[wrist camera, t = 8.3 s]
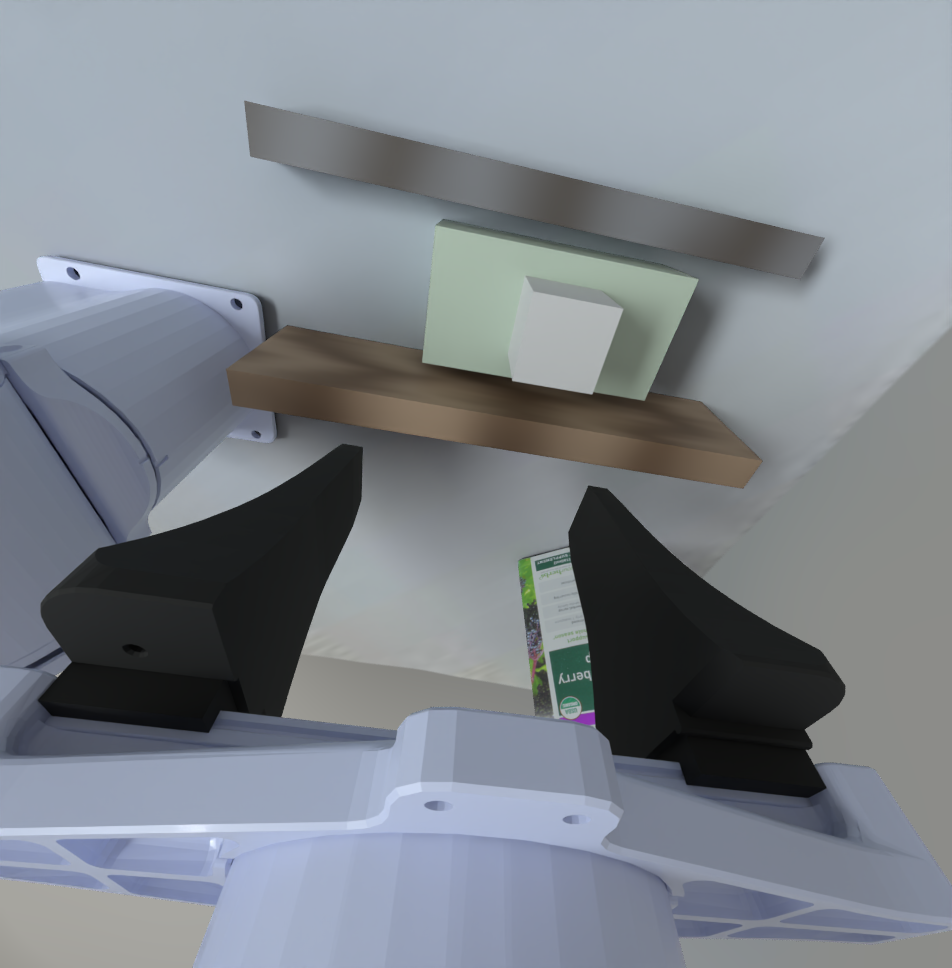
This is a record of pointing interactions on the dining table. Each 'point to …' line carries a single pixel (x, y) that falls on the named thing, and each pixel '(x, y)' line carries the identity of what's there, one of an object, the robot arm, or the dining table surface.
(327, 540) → the robot arm
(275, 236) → the dining table surface
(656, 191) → the dining table surface
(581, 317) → the mint block with knob
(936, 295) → the dining table surface
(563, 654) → the syrup box
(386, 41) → the dining table surface
